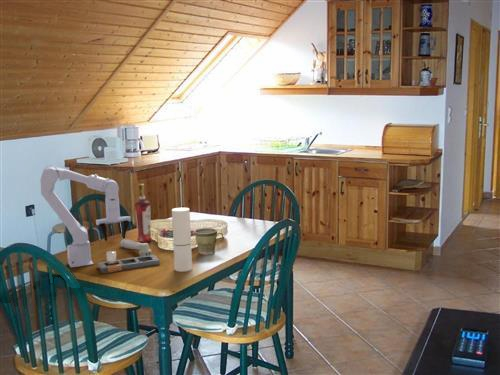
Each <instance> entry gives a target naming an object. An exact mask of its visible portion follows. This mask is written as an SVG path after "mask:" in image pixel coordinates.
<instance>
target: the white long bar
mask: <svg viewBox="0 0 500 375" xmlns="http://www.w3.org/2000/svg"><path fill="white" fill-rule="evenodd" d="M119 247H121V248H124V249H131V250H138V254H139V257H141V256H148V255H152V254H151V253H152V249H151V248H150V245H149V242H148V243H140V242H139V241H138V242H137V241H135V240H131V239H129V238H125V239H123V238H122V239H121V240H120V241H119Z"/></svg>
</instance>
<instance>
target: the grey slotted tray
mask: <svg viewBox="0 0 500 375" xmlns="http://www.w3.org/2000/svg"><path fill="white" fill-rule="evenodd" d="M160 264H161V263H160V259H159V258H158V257H157V256H156V255H155V254H151V255H148V256H141V257H140V256H135V257H134V256H133V257H129V258H122V259H117V265H111V266H107V260H106V261H101V262H97V268H98V270H99V271H100V272H101V274H107V273H113V272H120V271H121V272H122V271H126V270H132V269H138V268H146V267H153V266H154V267H155V266H160Z"/></svg>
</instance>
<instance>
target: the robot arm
mask: <svg viewBox="0 0 500 375" xmlns="http://www.w3.org/2000/svg"><path fill="white" fill-rule="evenodd" d="M58 179H59V181H60V182H61V181H63V180H70V181H74V182H78V183H81V184H85V185H86V187H87V189H91V190H95V191H99V192H100V193H101V192H102V193H103V192H105V198H104V201H105V215H106V216H105V217H104V218H100V219H99V218H98V219H95V223H96V226H98V227H99V228H100V230H101V233H102V235H103V237H104V238H103V239H104V241H105V242H107V241H108V236H107V224H116V223H120V224H121V238H122V239H126V233H127V230H128V227H129V225H130V222H131V221H132V219H131V218H132V217H131V216H130V215H128V216H127V215H126V216H124V215H123V216H121V210H120V197H119V190H120V186H119V184H118V183H117V182H116V181H115V180H114V179H112V178H111V179H109V177H106V178H104V177H101V176H99V175H98V174H96V173H95V174H90V175H88V176H87V175H84V174H82V173H78V172H76V171H74V170H73V171H72V170H69V169H67V168H64V167H58V166H54V165H47V166H45V167H44V169H43V171H42V174H41V177H40V194H41V196H42V197H43V198H44V200H45V201H46V202H47V203H48V205H49V207H50V208H51V209H52V211H54V212H55V214H56V215H57V217H58V218H59V219H60V221H61V222H62V223H63V224H64V226H65V227H66V229H67V230H68V232H69V234H70V235H71V237H72V242H71V244H68V245H67V246H66V253H67V263H68V265H69V267H70V268H77V267H84V266H85V267H87V266H92V265H94V261H92V255H91V254H92V253H91V245H90V244H91V243H90V241H89V234H88V229H87V228H86V226H83V225H81V224H80V222H79V221H78V220H77V219H76V218H75V217H74V216H73V214H72V213H71V212H70V210H69V209H68V207H67V206H66V205H65V204H64V203H63V201H62V200H61V199H60V197H59V196H58V195H57V194H56V192H55V191H54V190H55V186H56V185H55V184H56V183H57V181H58Z"/></svg>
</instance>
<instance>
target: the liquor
mask: <svg viewBox="0 0 500 375" xmlns="http://www.w3.org/2000/svg"><path fill="white" fill-rule="evenodd" d="M145 189H146V188H145V184H144V183H138V190H139V192H138V193H139V195H138V198H139V200H137V201H135V203H134V209H135V210H134V211H135V217H136V218H135V219H136V229H137V241H138V242H139V243H142V244H143V243H148V244H149V243H150V242H151V241H152V239H153V238H152V234H151V232H152V230H151V229H152V227H151V224H152V223H151V212H152V211H151V202H150V201H149V200H146V194H145Z"/></svg>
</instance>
